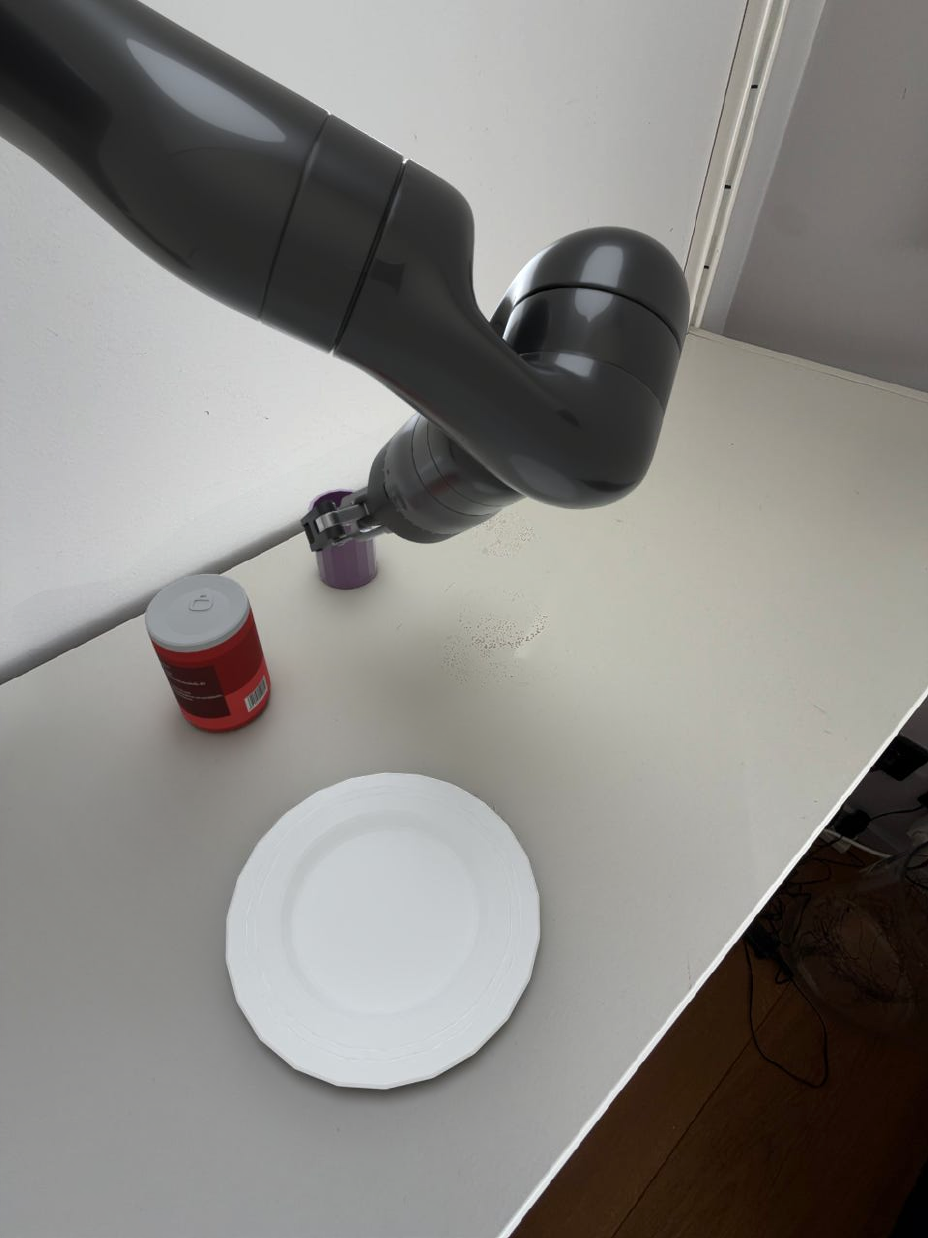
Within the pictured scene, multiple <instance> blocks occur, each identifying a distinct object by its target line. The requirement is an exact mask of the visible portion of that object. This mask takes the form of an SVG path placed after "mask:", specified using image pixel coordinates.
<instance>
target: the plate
mask: <svg viewBox="0 0 928 1238" xmlns="http://www.w3.org/2000/svg"><path fill="white" fill-rule="evenodd" d="M540 906H541V905H540V894H539V891H538V887H537V883H536V879H535V876H534V873H533V869H532V866H531V862H530V859H529V857H528V855H527V854H526V852H525V850H524V849H523V847H522V845H521V844H520V842H519V840H518V839H517V837H516V836H515V834H514V832H513V830H512V828H511V827H510V826H509V825H508V824H507V823H506V822H505V821H504V819H502V818H501V817H500V816H499V815H498V814H497V812H495V811H494V810H493V809H492V808H491V807H490V806H489V805H488V804H487V803H485V802H484V801H483V800H481V799H479V798H478V797H476V796H475V795H473V794H471V793H469V792H467V791H466V790H465V789H463V788H461V787H459V786H457V785H456V784H454V783H450V782H447V781H444V780H440V779H437V778H434V777H431V776H427V775H425V774H419V773H418V774H417V773H403V772H386V771H385V772H380V773H373V774H368V775H361V776H357V777H350V778H347V779H344V780H343V781H339V782H337V783H335V784H333V785H330V786H328V787H325V788H323V789H320V790H317V791H315V792H314V793H312V794H311V795H309V796H308V797H307V798H305V799H304V800H302V801H301V802H300V803H298V804H296V805H295V806H294V807H292V808H290V809H289V810H288V811H286V812H285V813H284V814H283V815H282V816H281V817H280V818H279V819H278V820H277V821H276V822H275V823H274V824H273V826H272V827H271V828H270V829H269V830H268V831H267V832H266V833H265V834H264V835H263V836H262V837H261V839H259V841H258V842H257V843H256V845H255V847H254V849H253V850H252V852H251V854H250V855H249V857H248V859H247V861H246V863H245V864H244V866H243V868H242V869H241V872H240V873H239V875H238V877H237V879H236V883H235V887H234V890H233V893H232V897H231V901H230V903H229V908H228V911H227V915H226V921H225V924H226V926H225V927H226V928H225V935H226V936H225V963H226V967H227V970H228V975H229V978H230V982H231V986H232V989H233V994H234V998H235V1001H236V1003H237V1005H238V1007H239V1009H240V1010H241V1012H242V1013H243V1014H244V1017H245V1018H246V1019H247V1021H248V1023H249V1025H250V1026H251V1028H252V1029H253V1031H254V1032H255V1034H256V1036H257V1037H258V1039H259V1040H260V1041H261V1042H262V1043H263V1044H264V1045H266V1046H267V1047H268V1048H269V1049H270V1050H271V1051H273V1052H274V1053H275V1054H276V1055H277V1056H278V1057H280V1058H281V1059H282V1060H283V1061H285V1063H287V1064H288V1065H289V1066H290V1067H291V1068H292V1069H294V1070H295V1071H298V1072H300V1073H303V1074H305V1075H308V1076H311V1077H313V1078H315V1079H318V1080H321V1081H322V1082H325V1083H327V1084H330V1085H333V1086H336V1087H339V1088H352V1089H364V1090H365V1089H366V1090H367V1089H368V1090H380V1091H382V1090H383V1091H387V1090H391V1089H396V1088H399V1087H404V1086H408V1085H412V1084H416V1083H420V1082H424V1081H428V1080H433V1079H435V1078H437V1077H438V1076H440V1075H441V1074H444V1073H446V1072H447V1071H448V1070H450V1069H452V1068H453V1067H455V1066H457V1065H459V1064H461V1063H462V1062H464V1061H465V1060H467V1059H469V1058H471V1057H472V1056H474V1055H476V1054H477V1052H479V1051H480V1049H482V1047H483V1046H485V1044H486V1043H487V1042H488V1041H489V1040H490V1039H491V1038H492V1037H493V1036H495V1034H496V1033H497V1032H498V1031H499V1030H500V1029H501V1028H502V1027H503V1026H504V1025H505V1024H506V1022H507V1021H508V1020H509V1019H510V1017H511V1015H512V1013H513V1012H514V1009H515V1008H516V1006H517V1004H518V1002H519V1000H520V998H521V996H522V995H523V993H524V991H525V989H526V988H527V986H528V984H529V982H530V980H531V977H532V973H533V969H534V964H535V960H536V957H537V952H538V949H539V944H540V939H541V911H540V910H541V908H540Z"/></svg>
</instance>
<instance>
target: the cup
mask: <svg viewBox="0 0 928 1238" xmlns="http://www.w3.org/2000/svg"><path fill="white" fill-rule="evenodd" d="M356 491H357V490H355V489H352V488H337V489H330V490H327V491H324V492H322V493H320V494H318V495H316V496H314V498H313V499H312V500H311V501H310V502H309V506H308V508H307V513H308V512H309V511H310V510H312V509H313V508H314V507H315V506H316V505H318V504H320V503H319V502H321V501H324V500H326V501H332V502H333V503H335V505H336V508H338V507H340V506H341V500H342V498H343V497H345V496H347V495H350V494H352V493H354V492H356ZM344 528H345V531H346V533H348V532H350V526H349V524H347V525H345V526H344ZM369 528H370V529H374V528H375V526H369ZM376 544H377V543H376V537H375V538H372V539H370V540H366V541H362V542H356V541H355V540H354V539H352V540H350V541H347V542H345V543H344V545H341V546H340V547H337V548H334V549H331V548H330V546H328V547H326V548H324V549H323V551H320V552H317V551H314V555H315V560H316V567H317V571H318V576H319V578H320V580H321V581H322V582H323V583H324V584H326V585H327V586H329V587H331V588H335V589H337V590H352V589H358V588H360V587H362V586H364V585H366V584H368V583H369V582H371V581H372V580H373V579H374V578H375V576H376V574H377V571H378V557H377V556H378V555H377V545H376Z"/></svg>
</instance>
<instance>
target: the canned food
mask: <svg viewBox="0 0 928 1238" xmlns="http://www.w3.org/2000/svg"><path fill="white" fill-rule="evenodd" d="M144 624H145V628H146V632H147V634H148V638H149V639H150V641H151V644H152V648H153V650H154V652H155V654H156V656H157V659H158V661H159V663H160V665H161V667H162V670H163V672H164V675H165V677H166V679H167V682H168V684H169V686H170V688H171V690H172V693H173V695H174V697H175V700H176V702H177V704H178V707H179V709H180V711H181V713H182V715H183V716H184V718H185V719H186V720H187V721H189V722H190V723H191V724H192V725H193V726H194V727H196V728H197V729H200V730H202V731H206V732H209V733H227V732H231V731H234V730H235V731H236V730H238V729H240V728H242V727H245V726H246V725H248V724H250V723H251V722H253V721H254V720H255V719H257V717H259V715H260V714H262V712H263V711H264V709H265V707H266V706H267V704H268V701H269V697H270V695H271V694H270V693H271V685H272V684H271V677H270V674H269V673H270V672H269V671H268V670H269V669H268V666H267V662H266V659H265V653H264V651H263V647H262V642H261V639H260V635H259V632H258V628H257V624H256V620H255V616H254V613H253V608H252V605H251V602H250V599H249V597H248V594H247V592H246V590H245V588H244V587H243V586H242V585H241V583H240V582H238V581H237V580H235V579H233V578H231V577H229V576H226V575H223V574H217V573H201V574H200V573H198V574H194V575H189V576H186V577H183V578H180V579H177V580H176V581H173V582H172V583H170V584H168V585H167V586H165V587H163V588H162V589H160V590H159V592H158V593H156V594H155V595H154V597H153V598H152V599H151V601H150V602H149V603H148V605H147V606H146V610H145V614H144Z"/></svg>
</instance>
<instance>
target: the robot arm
mask: <svg viewBox="0 0 928 1238" xmlns="http://www.w3.org/2000/svg"><path fill="white" fill-rule="evenodd" d="M0 138H1V139H3V140H4V141H6V142H7V143H9V144H10V145H12V146H13V147H14V148H16V149H18V150H19V151H21V152H22V153H24V154H25V155H26V156H28V157H29V158H30V159H32V160H33V161H34V162H36V163H37V164H39V165H40V166H41V167H42V168H43V169H44V170H45V171H47V172H48V173H49V174H51V175H52V176H53V177H54V178H56V179H57V180H58V181H59V182H60V183H62V184H63V185H64V186H65V187H66V188H67V189H68V190H69V191H71V192H72V193H73V194H74V195H75V196H76V197H77V198H79V200H81V201H82V202H83V203H84V204H85V205H86V206H87V207H88V208H89V209H91V210H92V211H93V212H94V213H95V214H97V215H98V216H99V217H100V218H101V219H102V220H104V221H105V222H106V223H107V224H108V225H109V226H110V227H111V228H113V229H114V230H115V231H116V232H117V233H118V234H119V235H120V236H122V237H123V238H124V239H125V240H126V241H128V242H129V243H130V244H131V245H133V246H134V247H135V248H136V249H138V250H139V251H140V252H141V253H142V254H144V255H145V256H146V257H148V258H149V259H150V260H152V261H153V262H154V263H155V264H156V265H158V266H160V267H161V268H162V269H164V270H166V271H167V272H168V273H170V274H171V275H173V276H174V277H176V278H177V279H178V280H180V281H182V282H183V283H185V284H186V285H188V286H190V287H191V288H193V289H195V290H197V291H198V292H199V293H201V294H203V295H205V296H206V297H208V298H210V299H212V300H214V301H216V302H218V303H219V304H222V305H223V306H225V307H227V308H229V309H230V310H233V311H235V312H237V313H239V314H241V315H243V316H245V317H247V318H249V319H252V320H254V321H256V322H259V323H260V322H261V324H262V325H263V326H266V327H268V328H270V329H272V330H275V331H277V332H278V333H281V334H283V335H285V336H288V337H289V338H291V339H294V340H296V341H298V342H300V343H302V344H303V345H304V344H305V345H307V346H309V347H311V348H313V349H315V350H317V351H320V352H322V353H323V354H326V355H329V354H331V353H332V354H331V355H332V357H333V358H335V359H337V360H340V361H341V362H342V363H343V362H344V363H346V364H347V365H350V366H352V367H355V368H356V369H358V370H360V371H362V372H363V373H365V374H366V375H368V376H369V377H371V378H372V379H373V380H375V381H376V382H377V383H379V384H381V386H383V387H385V388H386V389H387V390H388V391H390V392H391V393H392V394H394V395H395V396H396V397H397V398H399V399H400V400H401V401H403V403H405V404H406V405H408V407H411V408H412V409H413V410H414V411H415V413H414V414H412V416H410V417H409V419H407V421H405V423H404V424H403V425H402V426H401V427H400V428H399V429H398V430H397V431H396V432H395V434H394V435H393V436H392V437H391V438H390V439H389V440H387V442H386V443H385V444H384V445H383V446H382V447H381V448H380V450H379V451H378V452H377V454H376V455H375V457H374V459H373V460H372V464H371V466H370V470H369V474H368V480H367V486H364V487H362V488H361V489H359V490H355V491H356V492H354V493H352V494H350V495H347V496H345V497H343V498H342V500H341V506H340V507H338V508H336V505H335V503H333V502H332V501H326V500H324V501H321V502H319V503H320V504H318V505H316V506H315V507H314V508H313V509H312V510H310V511H309V512H308V511H307V513H306V514H305V515H304V516H303V517H302V518H301V519H300V520H299V522H300V524H301V527H302V528H303V530H304V533H305V536H306V538H307V541H308V544H309V549H310V552H311V553H315V551H317V552H320V551H323V549H324V548H326V547H328V546H330V548H331V549H334V548H337V547H340V546H341V545H344V543H345V542H347V541H350V540H352V539H354V540H355V541H356V542H362V541H366V540H370V539H372V538H375V539H376V538H378V537H379V536H382V535H385V534H387V535H388V534H389V535H390V534H394V535H396V536H398V537H400V538H402V539H403V540H406V541H408V542H411V543H415V544H423V545H432V544H437V543H441V542H444V541H447V540H449V539H451V538H453V537H455V536H457V535H460V534H461V533H464V532H467V531H468V530H470V529H472V528H473V529H474V528H475V527H478V526H479V525H482V524H484V523H485V522H487V521H489V520H491V519H493V517H495V516H496V515H498V514H499V513H500V512H501V511H502V510H503V509H504V508H507V507H509V506H512V505H513V504H515V503H518V502H521V501H522V500H524V499H526V498H529V499H531V500H533V501H534V502H535V501H536V502H538V503H541V504H543V505H546V506H551V507H553V508H558V509H559V508H560V509H566V510H581V511H582V510H583V511H584V510H591V509H597V508H598V509H599V508H602V507H606V506H609V505H611V504H614V503H617V502H619V501H621V500H623V499H625V498H626V497H627V496H630V494H631V493H633V492H635V490H636V489H637V488H638V487H639V486H640V485H641V483H642V482H643V481H644V479H645V477H646V476H647V474H648V472H649V469H650V468H651V465H652V462H653V461H654V457H655V454H656V450H657V447H658V443H659V439H660V435H661V432H662V429H663V424H664V419H665V417H666V416H665V415H666V411H667V408H668V404H669V400H670V398H671V394H672V390H673V386H674V382H675V379H676V375H677V372H678V367H679V364H680V361H681V360H680V359H681V357H682V353H683V349H684V347H685V341H686V338H687V334H688V329H689V324H690V316H691V315H690V312H691V299H690V298H691V297H690V292H689V286H688V282H687V278H686V276H685V273H684V271H683V269H682V267H681V265H680V263H679V262H678V261H677V259H676V258H675V256H674V255H673V254H672V252H671V251H670V250H669V249H668V248H667V247H666V246H665V245H664V244H663V243H661V242H660V241H659V240H658V239H656V238H654V237H653V236H650V235H648V234H646V233H644V232H641V231H639V230H636V229H632V228H628V227H625V226H624V227H622V226H617V225H616V226H615V225H614V226H613V225H605V226H602V225H601V226H594V227H588V228H584V229H580V230H576V231H574V232H571V233H569V234H567V235H564V236H562V237H560V238H558V239H556V240H555V241H553V242H551V243H550V244H548V245H547V246H545V247H544V248H542V249H541V250H540V251H538V252H537V253H536V254H535V255H534V256H533V257H531V259H530V260H529V261H528V262H527V263H526V264H524V266H523V268H522V269H521V270H520V271H519V272H518V274H517V275H516V277H515V278H514V279H513V280H512V282H511V283H510V285H509V287H508V288H507V290H506V291H505V293H503V296H502V297H501V299H500V301H499V302H498V304H497V306H496V308H495V309H494V311H493V313H492V315H491V316H490V318H489V320H488V318H486V316H485V314H484V313H483V311H482V310H481V309H480V306H479V304H478V302H477V297H476V292H475V288H474V259H475V243H476V241H475V240H476V236H475V235H476V233H475V232H476V225H475V217H474V213H473V210H472V208H471V205H470V203H469V201H468V200H467V198H466V197H465V196H464V195H463V193H461V191H460V190H458V188H456V187H455V186H454V185H453V184H451V183H450V182H448V181H447V180H446V179H445V178H443V177H441V176H440V175H439V174H436V173H435V172H433V171H432V170H431V169H429V168H427V167H425V166H424V165H422V164H420V163H418V162H417V161H416V160H413V159H412V158H409V157H408V158H406V159H405V160H404V158H405V157H404V154H403V153H401V152H399V151H398V150H396V149H394V148H393V147H391V146H389V145H387V144H385V143H384V142H382V141H380V140H378V139H377V138H375V137H374V136H373V135H370V134H369V133H367V132H365V131H363V130H361V129H360V128H358V127H356V126H354V125H353V124H351V123H349V122H348V121H346V120H344V119H342V118H341V117H339V116H338V115H335V114H333V113H330V111H329V110H327V109H326V108H324V107H322V106H320V105H319V104H317V103H315V102H314V101H311V100H310V99H308V98H306V97H304V96H302V95H301V94H299V93H297V92H296V91H293V90H292V89H291V88H289V87H287V86H285V85H284V84H281V83H279V82H278V81H277V80H274V79H273V78H271V77H269V76H267V75H266V74H264V73H262V72H261V71H258V70H257V69H255V68H253V67H252V66H250V65H249V64H246V63H245V62H243V61H241V60H239V59H238V58H236V57H235V56H233V55H231V54H230V53H228V52H225V51H224V50H222V49H221V48H219V47H217V46H215V45H214V44H212V43H210V42H209V41H207V40H206V39H204V38H202V37H200V36H198V35H197V34H195V33H194V32H191V31H190V30H188V29H187V28H185V27H183V26H182V25H179V24H178V23H176V22H175V21H173V20H172V19H170V18H168V17H166V16H165V15H163V14H161V13H160V12H158V11H157V10H155V9H154V8H152V7H150V6H149V5H147V4H145V3H143V2H142V1H140V0H0ZM347 524H349V526H350V532H348V533H346V531H345V528H344V526H345V525H347ZM369 526H374V529H370V528H369Z"/></svg>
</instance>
